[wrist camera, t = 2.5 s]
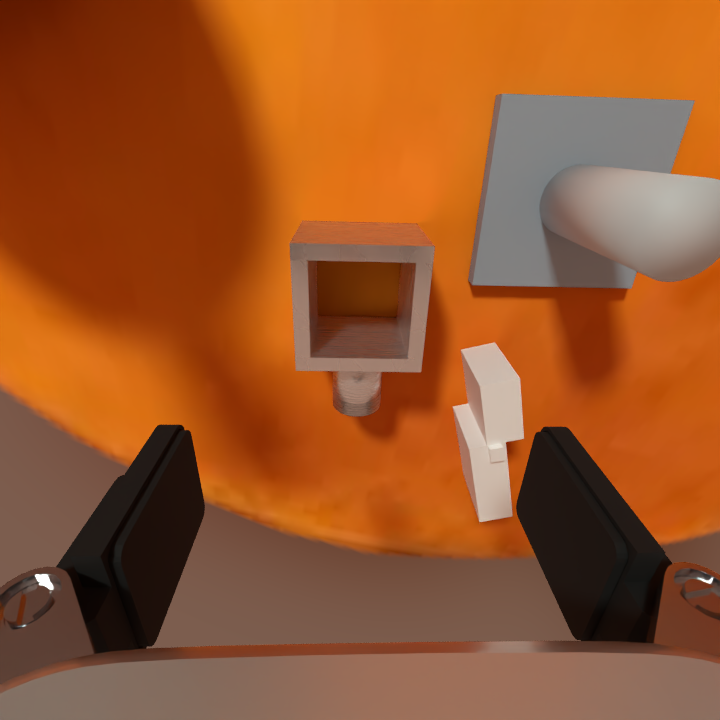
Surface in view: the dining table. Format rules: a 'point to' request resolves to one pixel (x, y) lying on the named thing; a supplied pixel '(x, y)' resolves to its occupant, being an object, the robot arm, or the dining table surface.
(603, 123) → the flange
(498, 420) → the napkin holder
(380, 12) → the dining table surface
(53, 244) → the dining table surface
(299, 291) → the collar
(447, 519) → the dining table surface
